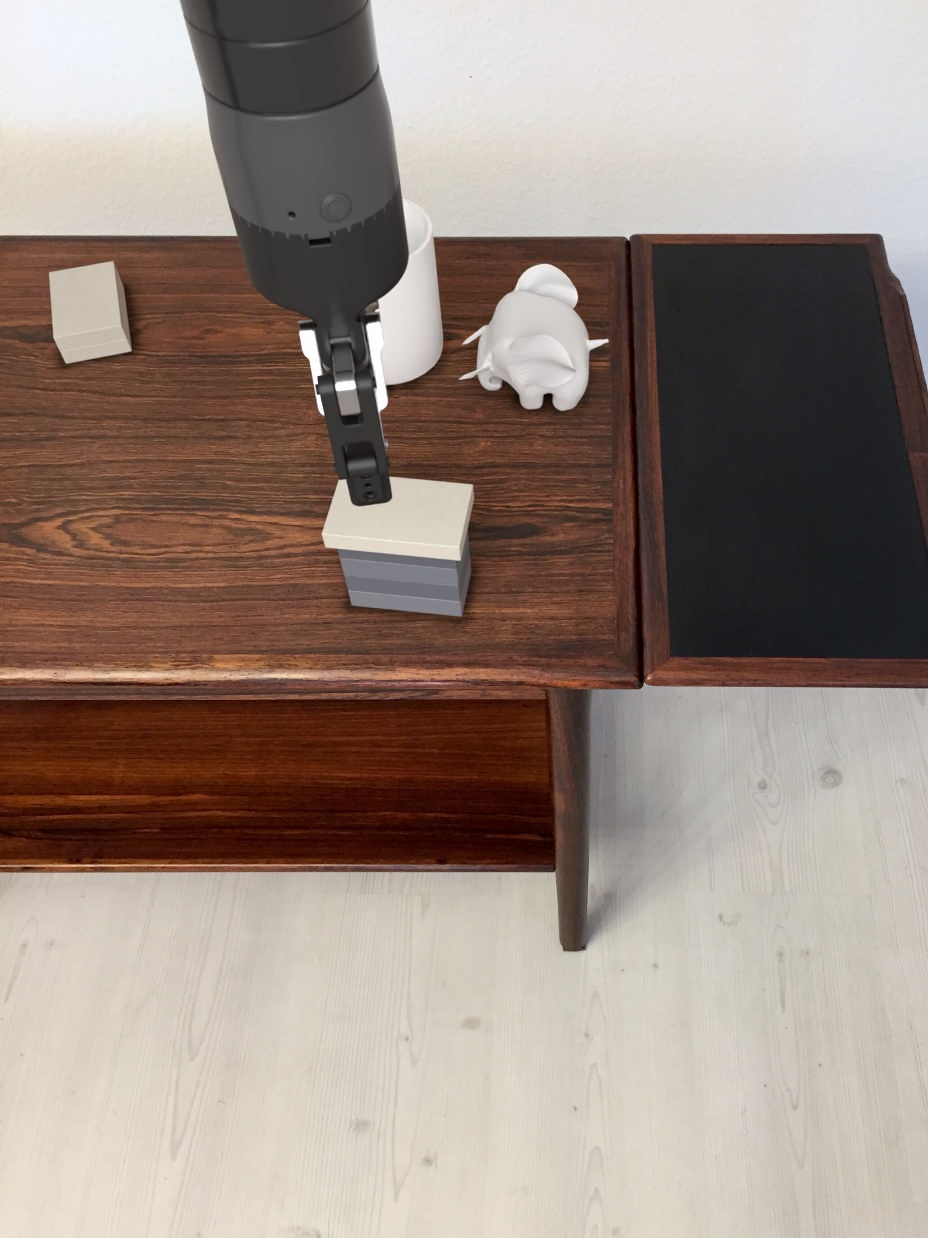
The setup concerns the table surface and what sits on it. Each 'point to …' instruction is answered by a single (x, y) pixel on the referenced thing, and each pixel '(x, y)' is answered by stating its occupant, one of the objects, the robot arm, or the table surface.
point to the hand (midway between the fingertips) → (365, 443)
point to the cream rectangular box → (89, 312)
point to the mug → (413, 307)
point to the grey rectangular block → (407, 581)
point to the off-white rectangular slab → (403, 520)
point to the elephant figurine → (536, 341)
